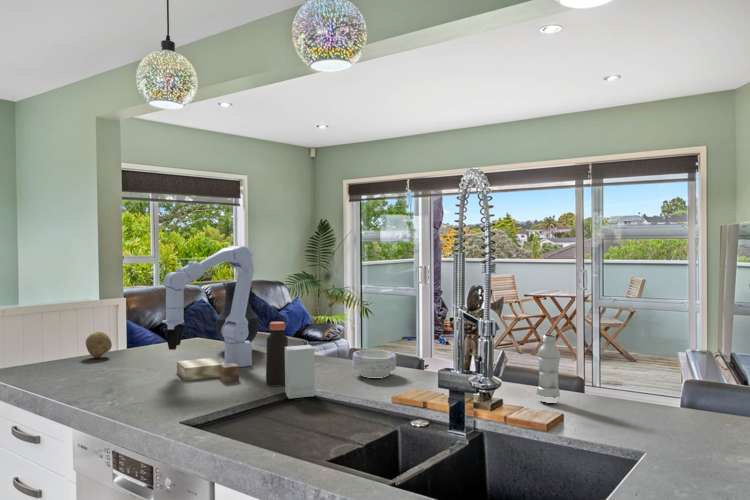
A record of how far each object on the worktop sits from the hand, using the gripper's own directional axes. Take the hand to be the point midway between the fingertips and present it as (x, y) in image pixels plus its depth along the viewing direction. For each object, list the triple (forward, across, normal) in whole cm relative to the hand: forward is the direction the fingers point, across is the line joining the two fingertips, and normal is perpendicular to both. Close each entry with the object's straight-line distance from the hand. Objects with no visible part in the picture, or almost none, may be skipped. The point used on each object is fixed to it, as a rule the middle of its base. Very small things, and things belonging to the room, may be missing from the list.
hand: (174, 347), depth 194 cm
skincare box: (+10, +30, +41) cm, 52 cm away
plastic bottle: (+10, +45, +114) cm, 123 cm away
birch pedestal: (+10, 0, +8) cm, 12 cm away
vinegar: (+10, +15, +34) cm, 39 cm away
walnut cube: (+10, +8, +19) cm, 23 cm away
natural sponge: (+10, -31, -33) cm, 47 cm away
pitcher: (+10, -44, +18) cm, 49 cm away
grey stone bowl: (+10, +7, +68) cm, 69 cm away
